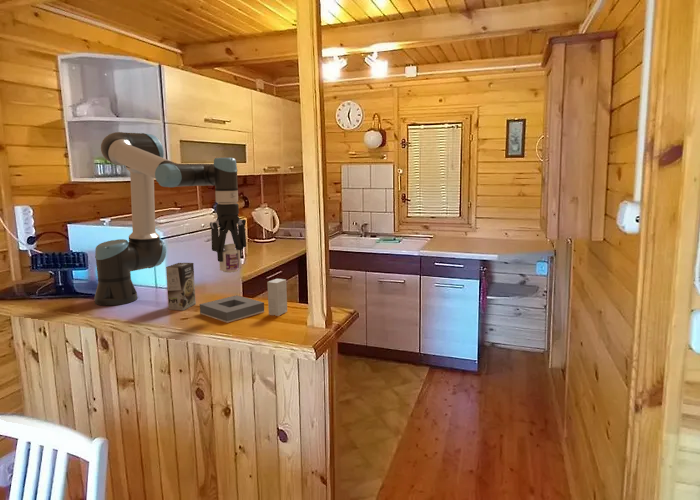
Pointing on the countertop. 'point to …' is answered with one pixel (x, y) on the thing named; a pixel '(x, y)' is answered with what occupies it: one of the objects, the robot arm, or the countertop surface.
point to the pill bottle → (231, 258)
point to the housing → (231, 308)
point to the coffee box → (180, 286)
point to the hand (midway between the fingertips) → (230, 269)
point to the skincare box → (277, 297)
